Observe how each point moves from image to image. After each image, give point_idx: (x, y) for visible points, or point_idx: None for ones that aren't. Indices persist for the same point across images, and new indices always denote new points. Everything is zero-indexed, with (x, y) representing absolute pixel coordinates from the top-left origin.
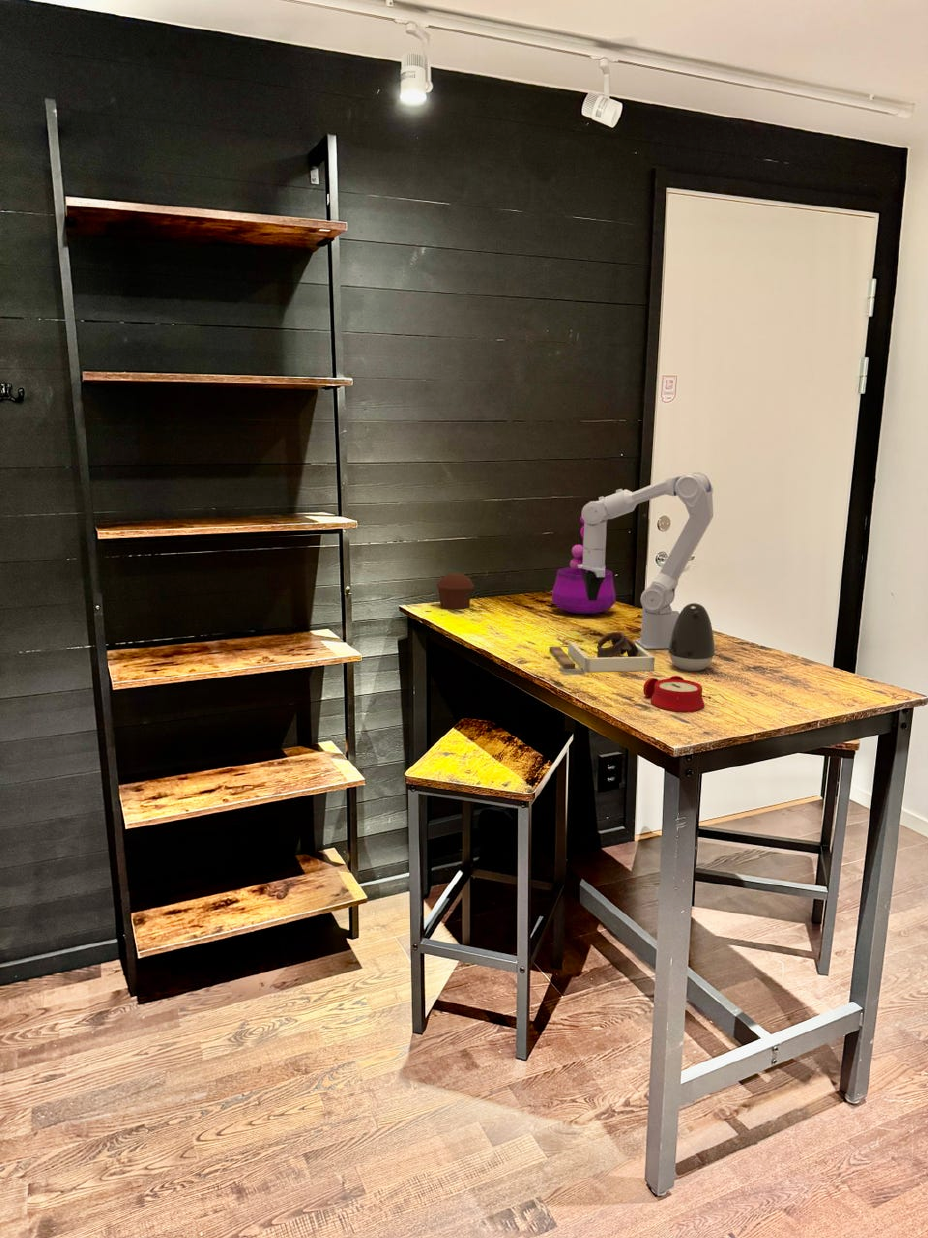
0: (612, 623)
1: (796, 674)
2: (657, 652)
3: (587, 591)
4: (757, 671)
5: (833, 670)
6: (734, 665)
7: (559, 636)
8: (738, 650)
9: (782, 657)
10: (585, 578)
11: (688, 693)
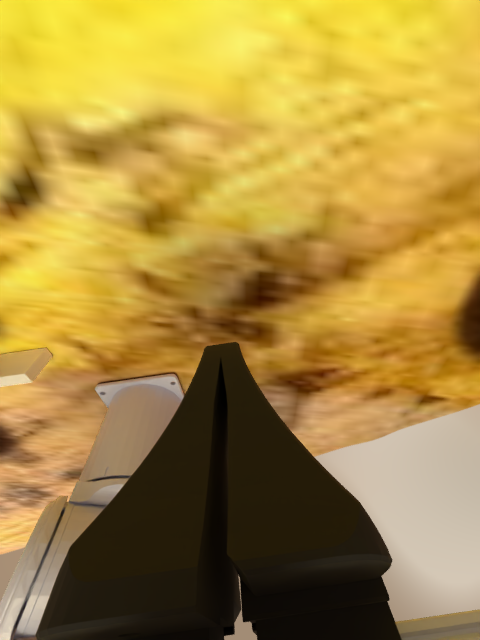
0: (387, 345)
1: (24, 514)
2: (81, 400)
3: (199, 385)
4: (12, 492)
5: None
6: (36, 477)
7: (223, 134)
8: None
9: None
10: (122, 524)
11: None
